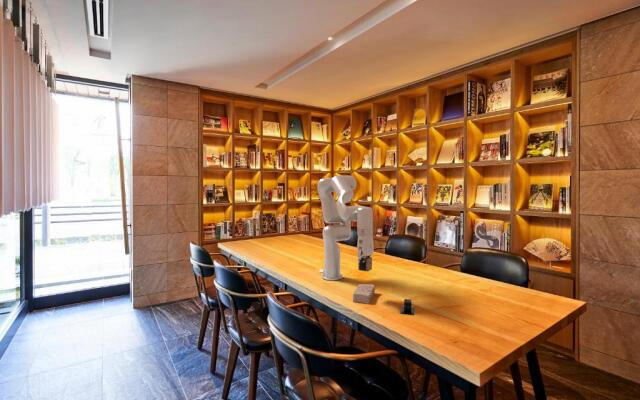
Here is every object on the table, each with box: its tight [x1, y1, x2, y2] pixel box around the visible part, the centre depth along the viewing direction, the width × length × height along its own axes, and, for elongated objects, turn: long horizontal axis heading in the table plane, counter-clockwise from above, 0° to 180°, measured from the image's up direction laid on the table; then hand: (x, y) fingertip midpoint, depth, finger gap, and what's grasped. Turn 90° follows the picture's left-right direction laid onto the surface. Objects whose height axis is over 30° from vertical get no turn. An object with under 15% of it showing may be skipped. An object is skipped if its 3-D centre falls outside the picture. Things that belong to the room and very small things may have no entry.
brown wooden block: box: [357, 256, 373, 272], centre depth 162 cm, size 5×5×6 cm
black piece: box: [399, 298, 416, 316], centre depth 145 cm, size 13×8×5 cm, turn 163°
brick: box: [352, 283, 376, 304], centre depth 163 cm, size 16×8×5 cm, turn 161°
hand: (365, 268), depth 162 cm, fingers closed on brown wooden block, 5 cm apart
